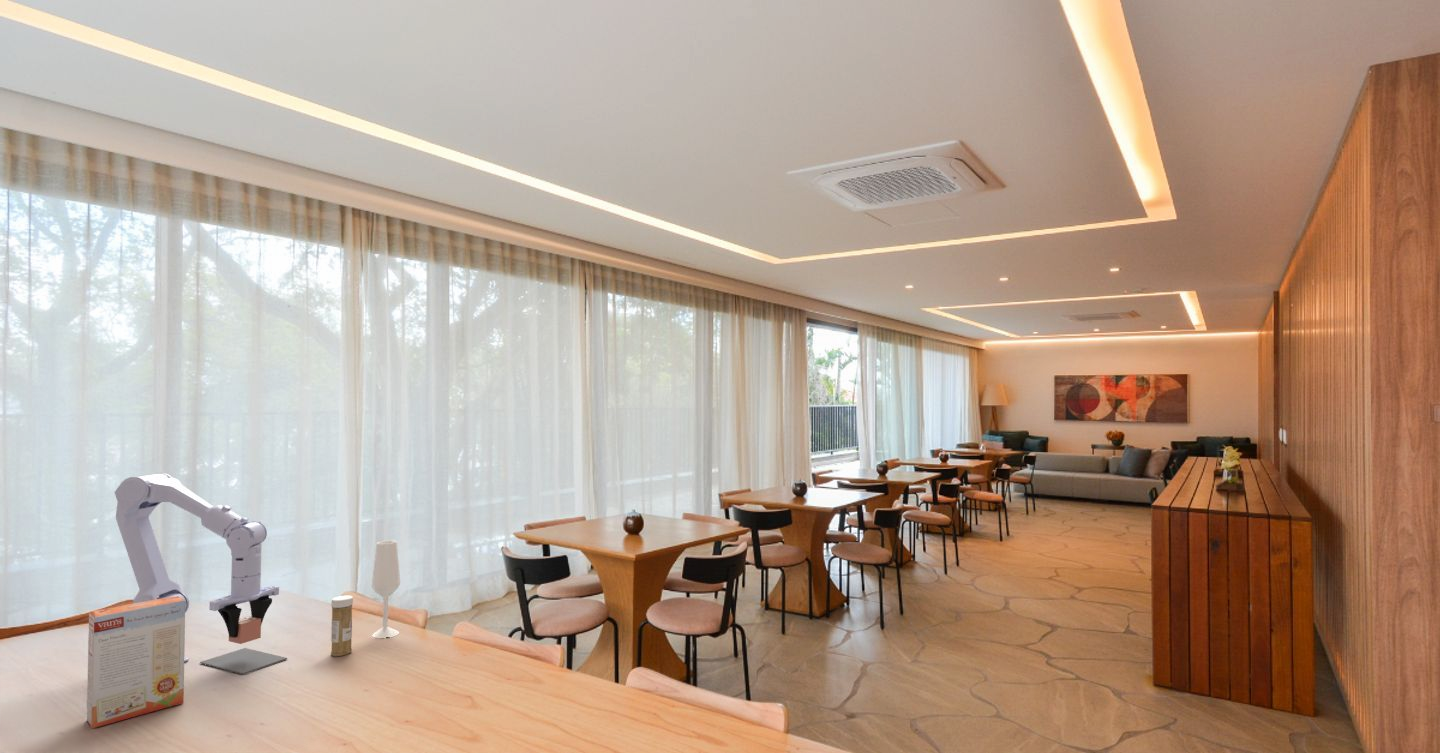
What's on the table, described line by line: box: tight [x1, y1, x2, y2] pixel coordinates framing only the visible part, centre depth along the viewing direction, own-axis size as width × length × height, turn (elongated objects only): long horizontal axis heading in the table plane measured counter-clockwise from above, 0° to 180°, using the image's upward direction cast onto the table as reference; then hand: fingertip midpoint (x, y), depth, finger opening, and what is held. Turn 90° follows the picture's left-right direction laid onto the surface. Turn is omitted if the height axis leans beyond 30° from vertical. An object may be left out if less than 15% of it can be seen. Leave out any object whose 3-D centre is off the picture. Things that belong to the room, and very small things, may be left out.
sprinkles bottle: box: [330, 595, 354, 657], centre depth 165 cm, size 5×5×14 cm
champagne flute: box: [371, 539, 401, 639], centre depth 179 cm, size 7×7×24 cm
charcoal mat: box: [199, 647, 288, 676], centre depth 160 cm, size 16×10×1 cm, turn 66°
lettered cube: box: [228, 615, 262, 645], centre depth 160 cm, size 4×4×5 cm
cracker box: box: [86, 596, 186, 729], centre depth 134 cm, size 14×6×21 cm, turn 141°
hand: (244, 633), depth 160 cm, fingers closed on lettered cube, 4 cm apart
